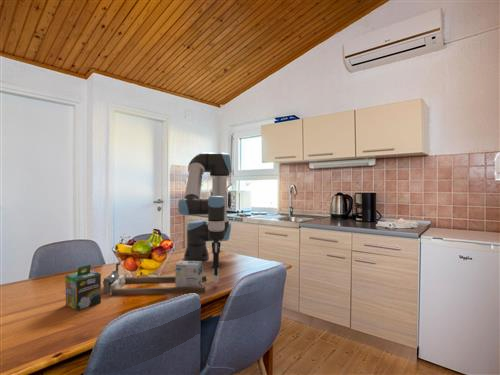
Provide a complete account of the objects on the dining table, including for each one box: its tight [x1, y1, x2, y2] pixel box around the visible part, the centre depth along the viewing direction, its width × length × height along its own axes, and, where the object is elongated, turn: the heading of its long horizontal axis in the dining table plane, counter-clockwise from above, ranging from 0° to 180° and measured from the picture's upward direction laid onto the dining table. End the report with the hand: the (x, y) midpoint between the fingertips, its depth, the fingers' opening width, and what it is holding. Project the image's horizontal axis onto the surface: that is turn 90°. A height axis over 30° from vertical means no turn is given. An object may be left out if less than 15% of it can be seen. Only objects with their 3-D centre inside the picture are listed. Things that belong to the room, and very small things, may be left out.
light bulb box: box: [174, 260, 203, 287], centre depth 130 cm, size 11×7×11 cm, turn 84°
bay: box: [109, 272, 207, 296], centre depth 128 cm, size 16×38×4 cm, turn 96°
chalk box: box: [64, 264, 102, 312], centre depth 109 cm, size 9×9×15 cm
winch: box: [102, 262, 121, 294], centre depth 128 cm, size 16×4×9 cm, turn 6°
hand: (215, 281), depth 131 cm, fingers closed
